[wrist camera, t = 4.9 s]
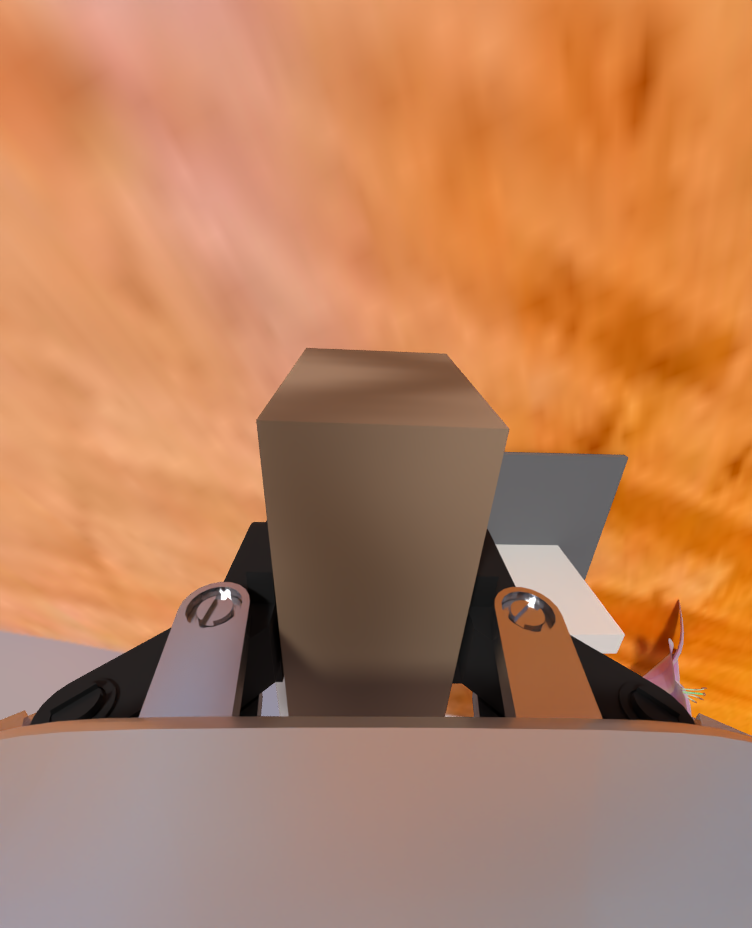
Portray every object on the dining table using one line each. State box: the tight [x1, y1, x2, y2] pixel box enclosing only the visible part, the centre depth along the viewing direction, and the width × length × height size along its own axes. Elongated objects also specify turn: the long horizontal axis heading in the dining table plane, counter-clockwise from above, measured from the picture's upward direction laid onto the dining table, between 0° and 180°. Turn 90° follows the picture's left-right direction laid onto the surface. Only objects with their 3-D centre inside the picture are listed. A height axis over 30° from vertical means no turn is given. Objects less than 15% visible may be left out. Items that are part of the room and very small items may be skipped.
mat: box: [487, 452, 628, 580], centre depth 29 cm, size 14×16×1 cm
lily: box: [643, 602, 707, 716], centre depth 31 cm, size 12×12×10 cm
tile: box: [495, 544, 625, 653], centre depth 25 cm, size 8×2×8 cm, turn 88°
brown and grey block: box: [256, 348, 509, 717], centre depth 12 cm, size 7×17×5 cm, turn 178°
